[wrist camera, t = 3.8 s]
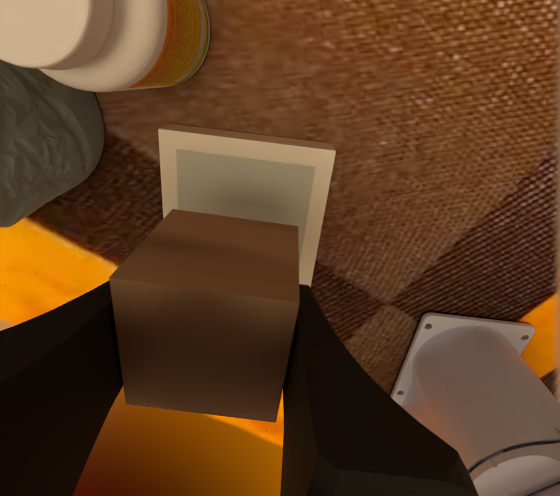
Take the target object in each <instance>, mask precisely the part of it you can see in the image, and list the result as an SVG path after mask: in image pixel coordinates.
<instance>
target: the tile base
mask: <svg viewBox="0 0 560 496" xmlns="http://www.w3.org/2000/svg"><path fill="white" fill-rule="evenodd" d="M158 133H159V151H160V168H161V185H162V203H163V219H164V218H165V217H166V216H167V215H168V213H169V212H170V211H171V210H172V209H177V210H185V211H192V212H199V213H206V214H214V215H221V216H228V217H235V218H243V219H250V220H257V221H264V222H272V223H279V224H286V225H293V226H298V244H299V284H303V285H309V286H310V287H311V281H312V276H313V271H314V265H315V260H316V255H317V249H318V244H319V239H320V233H321V228H322V223H323V217H324V212H325V207H326V201H327V196H328V191H329V185H330V180H331V175H332V170H333V164H334V159H335V154H336V150H335V148H334V146H333V144H331V143H323V142H315V141H307V140H299V139H291V138H283V137H275V136H267V135H259V134H251V133H243V132H235V131H226V130H218V129H210V128H202V127H194V126H186V125H178V124H169V125H167V126H164V127H162V128H159V129H158Z"/></svg>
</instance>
